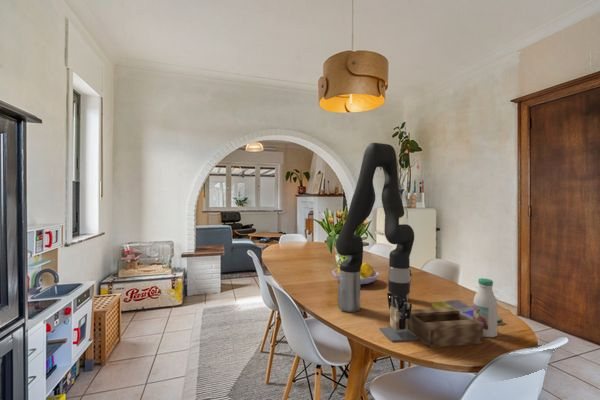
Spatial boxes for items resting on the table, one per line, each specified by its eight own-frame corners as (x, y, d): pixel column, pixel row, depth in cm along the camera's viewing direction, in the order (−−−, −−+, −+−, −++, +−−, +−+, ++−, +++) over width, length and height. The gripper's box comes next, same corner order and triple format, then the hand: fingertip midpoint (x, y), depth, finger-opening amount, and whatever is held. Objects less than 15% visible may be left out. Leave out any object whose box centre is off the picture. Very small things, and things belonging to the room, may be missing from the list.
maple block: (407, 329, 107) (407, 310, 107) (395, 330, 106) (396, 310, 106) (401, 324, 112) (401, 305, 112) (389, 325, 111) (390, 306, 111)
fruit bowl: (381, 290, 162) (381, 269, 162) (330, 287, 166) (331, 266, 166) (376, 276, 189) (376, 258, 189) (333, 274, 194) (333, 256, 194)
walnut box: (430, 347, 100) (430, 326, 100) (406, 328, 115) (407, 310, 115) (482, 343, 103) (483, 323, 103) (453, 324, 118) (453, 307, 118)
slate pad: (391, 342, 103) (391, 340, 103) (379, 329, 113) (379, 327, 113) (418, 340, 105) (418, 338, 105) (403, 327, 115) (403, 326, 115)
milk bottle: (488, 328, 115) (489, 277, 115) (502, 338, 108) (503, 282, 107) (468, 328, 115) (469, 276, 115) (480, 338, 107) (481, 282, 107)
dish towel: (468, 329, 115) (468, 322, 115) (428, 306, 139) (428, 300, 139) (506, 325, 119) (506, 319, 119) (460, 304, 143) (460, 298, 143)
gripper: (419, 284, 103) (419, 334, 103) (398, 273, 117) (398, 317, 117) (399, 285, 101) (398, 335, 101) (380, 274, 115) (380, 318, 115)
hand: (398, 325), depth 109 cm, fingers closed on maple block, 4 cm apart
